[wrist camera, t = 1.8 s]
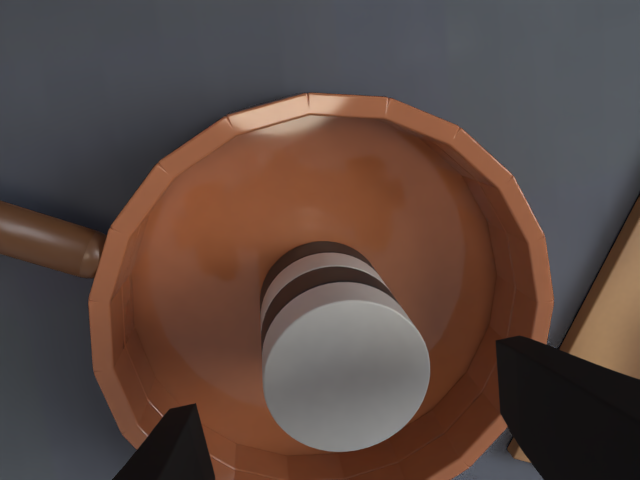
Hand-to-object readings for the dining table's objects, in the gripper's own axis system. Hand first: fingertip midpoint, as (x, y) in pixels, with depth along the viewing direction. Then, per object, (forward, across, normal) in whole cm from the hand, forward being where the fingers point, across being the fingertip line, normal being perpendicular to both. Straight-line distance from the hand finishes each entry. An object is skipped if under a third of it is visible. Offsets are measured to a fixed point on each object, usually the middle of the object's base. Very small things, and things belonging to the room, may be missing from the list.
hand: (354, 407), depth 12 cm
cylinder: (+7, 0, 0) cm, 7 cm away
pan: (+7, 0, 0) cm, 7 cm away
